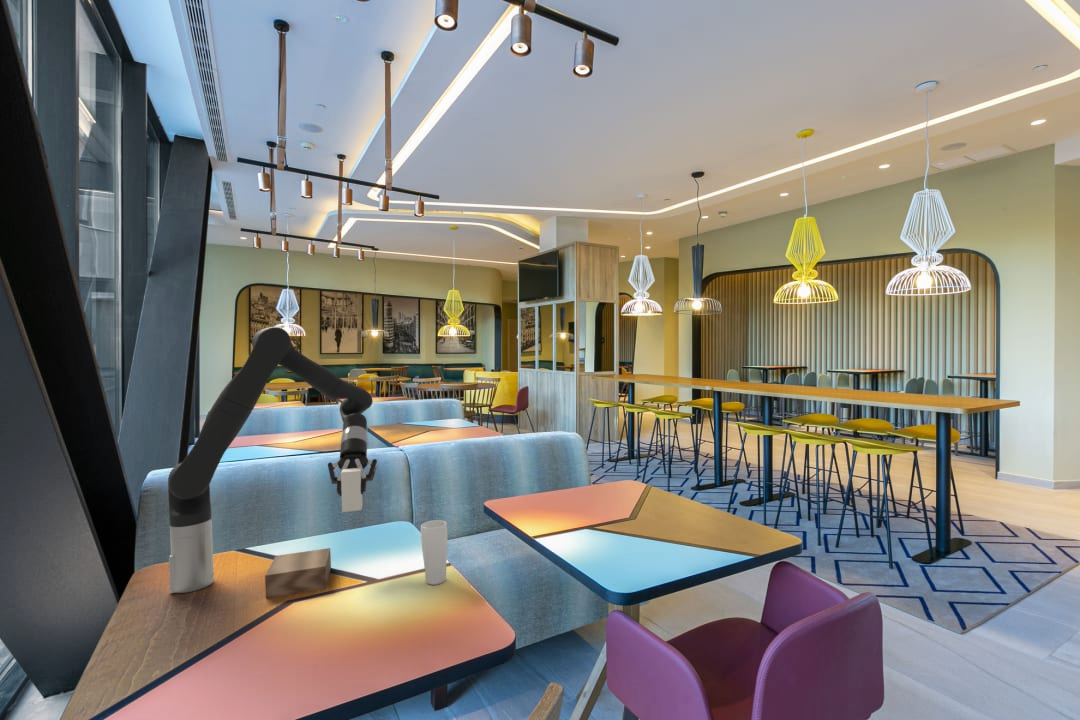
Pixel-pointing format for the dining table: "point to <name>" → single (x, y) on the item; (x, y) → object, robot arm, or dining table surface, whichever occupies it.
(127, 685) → the dining table surface
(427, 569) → the drinking glass
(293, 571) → the walnut box
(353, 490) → the offwhite block
